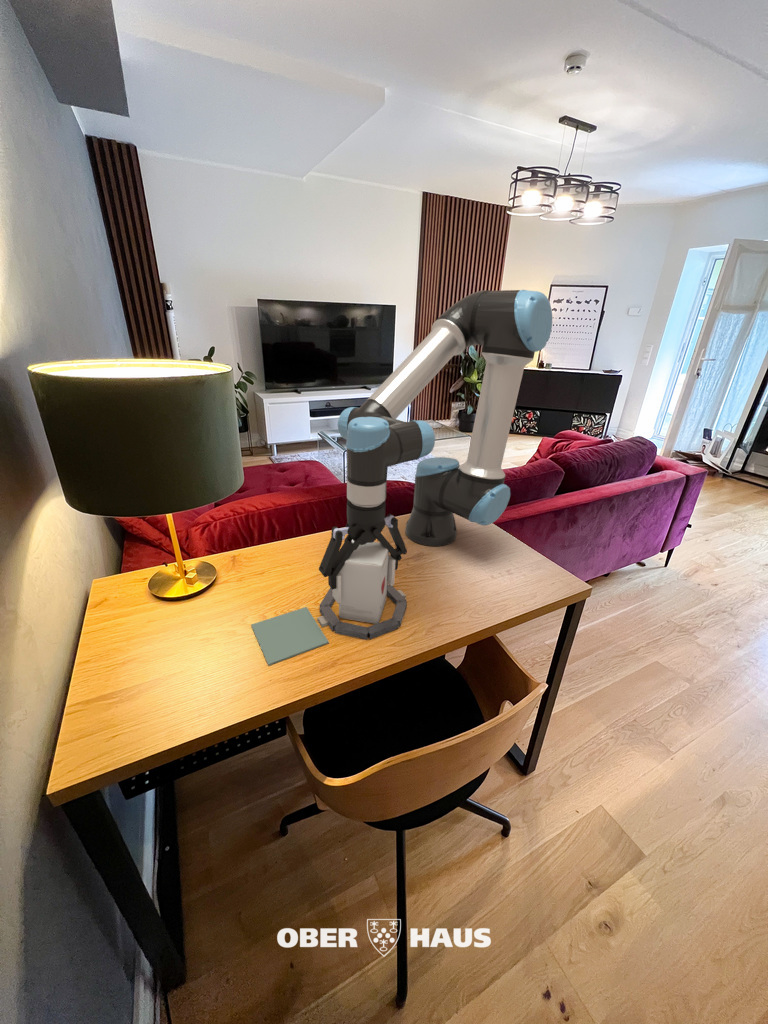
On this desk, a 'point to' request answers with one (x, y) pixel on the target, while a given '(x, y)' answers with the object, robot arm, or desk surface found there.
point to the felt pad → (288, 635)
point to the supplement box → (364, 583)
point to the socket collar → (361, 631)
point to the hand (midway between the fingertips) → (364, 590)
